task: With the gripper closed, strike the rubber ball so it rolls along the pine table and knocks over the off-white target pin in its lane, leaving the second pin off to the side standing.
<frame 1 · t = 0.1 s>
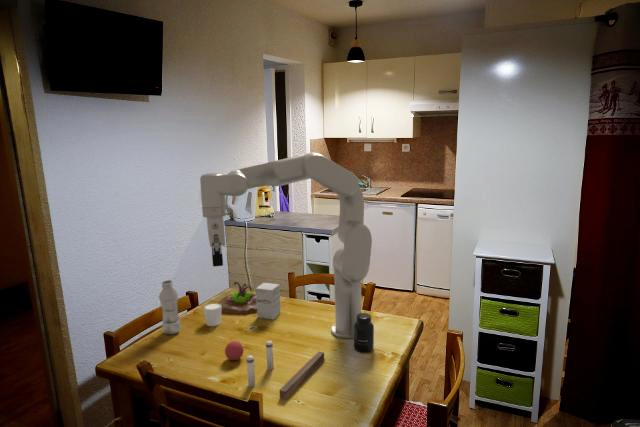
hand: (217, 261, 149), 31 cm above the table, tool pointing down, fingers open, 9 cm apart
plant: (241, 306, 191), on the table
supplement bottle: (363, 349, 151), on the table
white cup: (213, 323, 174), on the table
plastic bottle: (172, 333, 167), on the table
supplement box: (269, 315, 180), on the table
side pin: (251, 384, 131), on the table
target pin: (270, 368, 140), on the table
back wall: (303, 377, 135), on the table
ball: (234, 350, 146), on the table
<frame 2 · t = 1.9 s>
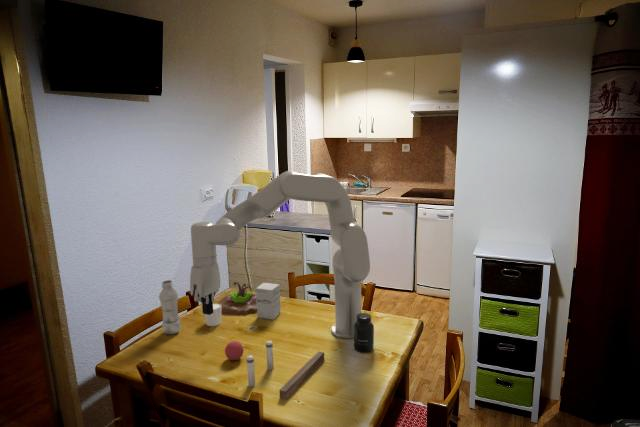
hand: (208, 313, 148), 14 cm above the table, tool pointing down, fingers closed
nothing on the table moved.
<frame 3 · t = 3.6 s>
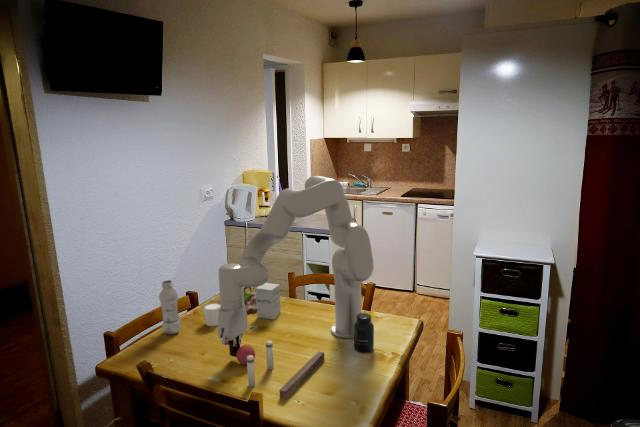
hand: (235, 355, 146), 2 cm above the table, tool pointing down, fingers closed
ball: (245, 354, 143), on the table
everything else where it was.
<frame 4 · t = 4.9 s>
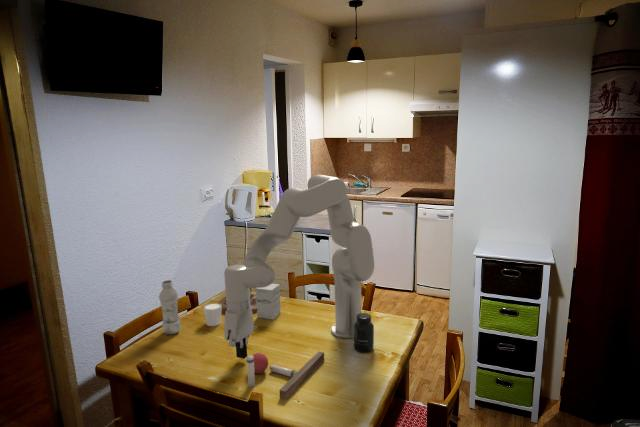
hand: (241, 356, 145), 2 cm above the table, tool pointing down, fingers closed
target pin: (271, 367, 139), point 1 cm above the table, tilted 90°
ball: (258, 363, 138), on the table
everything else where it was.
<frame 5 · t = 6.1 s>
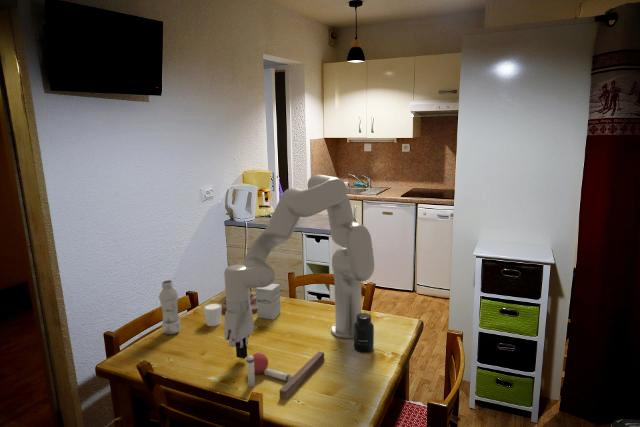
hand: (241, 356, 145), 2 cm above the table, tool pointing down, fingers closed
target pin: (267, 371, 136), point 1 cm above the table, tilted 90°
everything else where it was.
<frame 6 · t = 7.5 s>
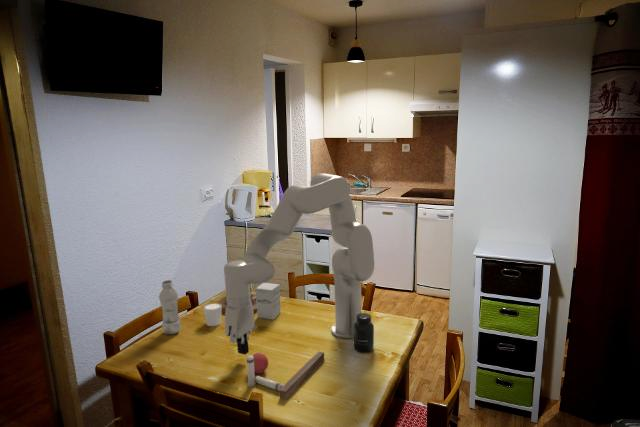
hand: (243, 352, 145), 3 cm above the table, tool pointing down, fingers closed
target pin: (257, 379, 132), point 1 cm above the table, tilted 90°
everything else where it was.
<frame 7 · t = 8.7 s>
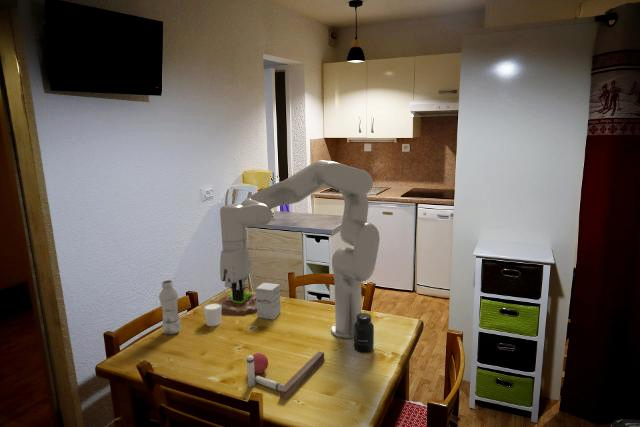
hand: (238, 300, 141), 21 cm above the table, tool pointing down, fingers closed
nothing on the table moved.
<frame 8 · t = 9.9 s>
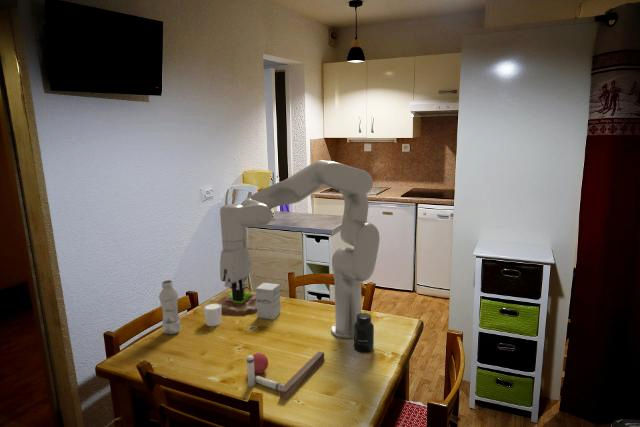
hand: (238, 300, 141), 21 cm above the table, tool pointing down, fingers closed
nothing on the table moved.
at the end: target pin tilted 90°; target pin never touched the robot; ball moved 12.2 cm from its start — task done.
